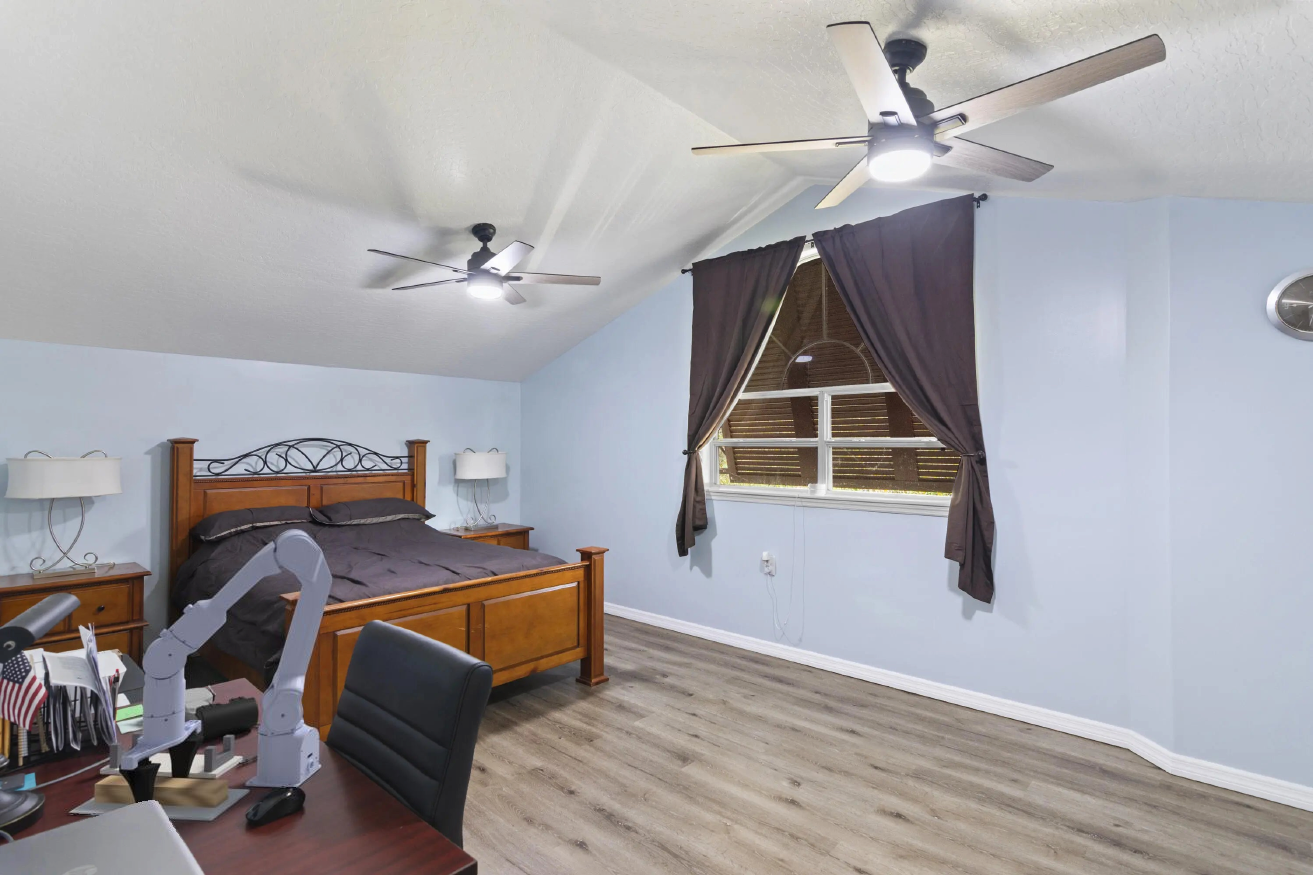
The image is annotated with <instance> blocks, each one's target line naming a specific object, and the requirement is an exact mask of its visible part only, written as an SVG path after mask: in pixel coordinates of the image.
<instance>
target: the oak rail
mask: <svg viewBox="0 0 1313 875" xmlns="http://www.w3.org/2000/svg"><path fill="white" fill-rule="evenodd" d="M228 789H229V780H228V779H211V778H188V779H186V778H172V777H163V776H156V779H155V783H154V792H153V799H152V800H155V801H158V802H159V804H161V805H165V806H187V807H209V808H216V807H217V806H218V805H220V804H221V803H222V802H224V801H225V800H226V799H228ZM93 798H94V802H97V803H120V804H134V803H135V800H134V797H133V794H132V791H131V788H130V786H129V784H128V782H127V781H126V779H125V778H124V777H123V776H122V775H115V774H109V776H107V777H105V778H103V779H101V780H99V781H98V782H96V783H94V797H93Z"/></svg>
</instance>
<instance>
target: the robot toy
mask: <svg viewBox="0 0 1313 875" xmlns="http://www.w3.org/2000/svg"><path fill="white" fill-rule="evenodd" d="M207 688H208V689H207ZM207 688H206V687H195V688H188V689H185V723H186V722H188V721H190V720H199V719H198V718H197V717H196V716H195V713H196V709H197V708H198V707H200V706H202V705H203V706H204V705H209V704H214V703H213V702H215V698H216V697H217V693H216V692H214V690H213V689H212V687H211V686H210V685H208V687H207ZM222 704H223V703H220V702H218V703H215V704H214V705H216V706H218V705H222Z"/></svg>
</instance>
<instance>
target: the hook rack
mask: <svg viewBox="0 0 1313 875" xmlns="http://www.w3.org/2000/svg"><path fill="white" fill-rule="evenodd" d="M142 734H143V731H135V732H133V733H132V734H131V747H129V748H128V749H125V750H124V751H123V742H113V743H110V744H109V764H107V765H105V766H104V767H102V768H101V769H99V774H100V775H114V776H122V774H121V773H120V772H119V765H120V764H121V757H122V756H124V755H126V754H127V753H128V752H130V751H131V750H132V749H133V748H134V747H135V746H136V745H137V744H138V743H137V739H138V738H140V737H142ZM235 735H236V734H234V735H226V736H224V737H223V738H222V750H221V751H220V752H217V746H216V745H207V746H206V747H205V748H203V749H204V750H203V751H204V752H203V754H196V755H195V757H194V760H193V763H192V766H191V769H190V773H189V776H188V779H213V780H217V778H219V777H221V776H222V775H224V774H226V772H228V771H229V770H231V769H232V768H234V767H235V766H237V765H238V764H239V762H240V763H241V762H242V761H243V756H241V755H235ZM149 761H151V763H161V766H160V768H159V770H158V772H157V775H156V777H164V778H172V772H171V759H170V754H169V752H168V753H165V752H163V753H162V752H159V753H157V754H155V755H154V756H152V757H150V758H149Z"/></svg>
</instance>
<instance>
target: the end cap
mask: <svg viewBox="0 0 1313 875" xmlns="http://www.w3.org/2000/svg"><path fill="white" fill-rule="evenodd" d="M221 704H222V705H218V706H216V705H214V703H212V704H209V705H204V706H203V705H202V706H200V707H198V708H197V709H196V713H195V716H196V717H197V718H198V719H199V720H201V731H200V732H198V733H196V735H203V736H204V741H203V742H202V744H205V743H207V742H212V741H215V740H219V739H223V737H224V736H226V735H237V734H241V733H245V732H248V731H252V730H253V729H254V727H256V726H257V725H258V722H259V716H260V715H259V705H258V704H259V703H258V701H257V700H256V698H255V697H254V696H251V697H248V698H246V697H245V696H238V697H234V698H233V697H232V698H230V699H228V702H227V703H221Z"/></svg>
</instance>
